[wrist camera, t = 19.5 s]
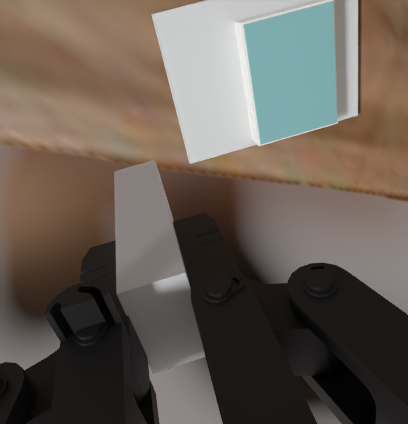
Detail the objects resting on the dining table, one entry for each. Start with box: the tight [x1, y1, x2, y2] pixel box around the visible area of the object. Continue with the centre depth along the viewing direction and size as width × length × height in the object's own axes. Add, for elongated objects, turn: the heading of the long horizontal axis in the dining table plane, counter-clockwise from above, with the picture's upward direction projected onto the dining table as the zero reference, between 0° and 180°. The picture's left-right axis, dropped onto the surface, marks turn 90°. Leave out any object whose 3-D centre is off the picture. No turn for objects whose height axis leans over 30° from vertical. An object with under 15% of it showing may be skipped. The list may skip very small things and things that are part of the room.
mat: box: [152, 0, 358, 164], centre depth 39 cm, size 15×20×1 cm
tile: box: [234, 0, 338, 146], centre depth 38 cm, size 12×2×9 cm
